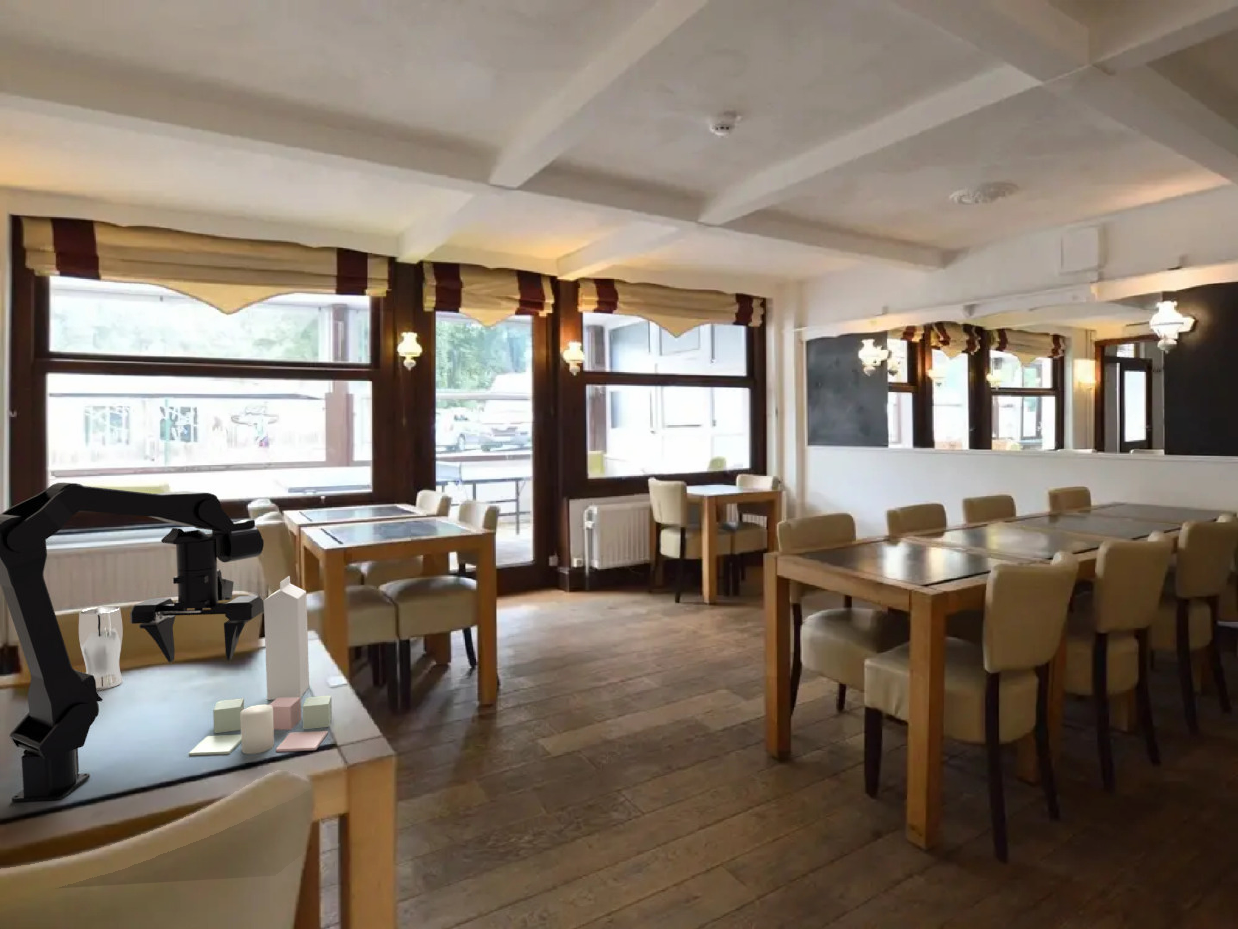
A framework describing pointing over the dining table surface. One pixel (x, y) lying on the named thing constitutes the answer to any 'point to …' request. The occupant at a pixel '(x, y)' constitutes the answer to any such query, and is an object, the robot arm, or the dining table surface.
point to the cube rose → (286, 712)
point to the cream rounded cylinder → (257, 729)
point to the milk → (286, 642)
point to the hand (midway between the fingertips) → (200, 660)
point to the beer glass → (102, 644)
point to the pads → (290, 743)
